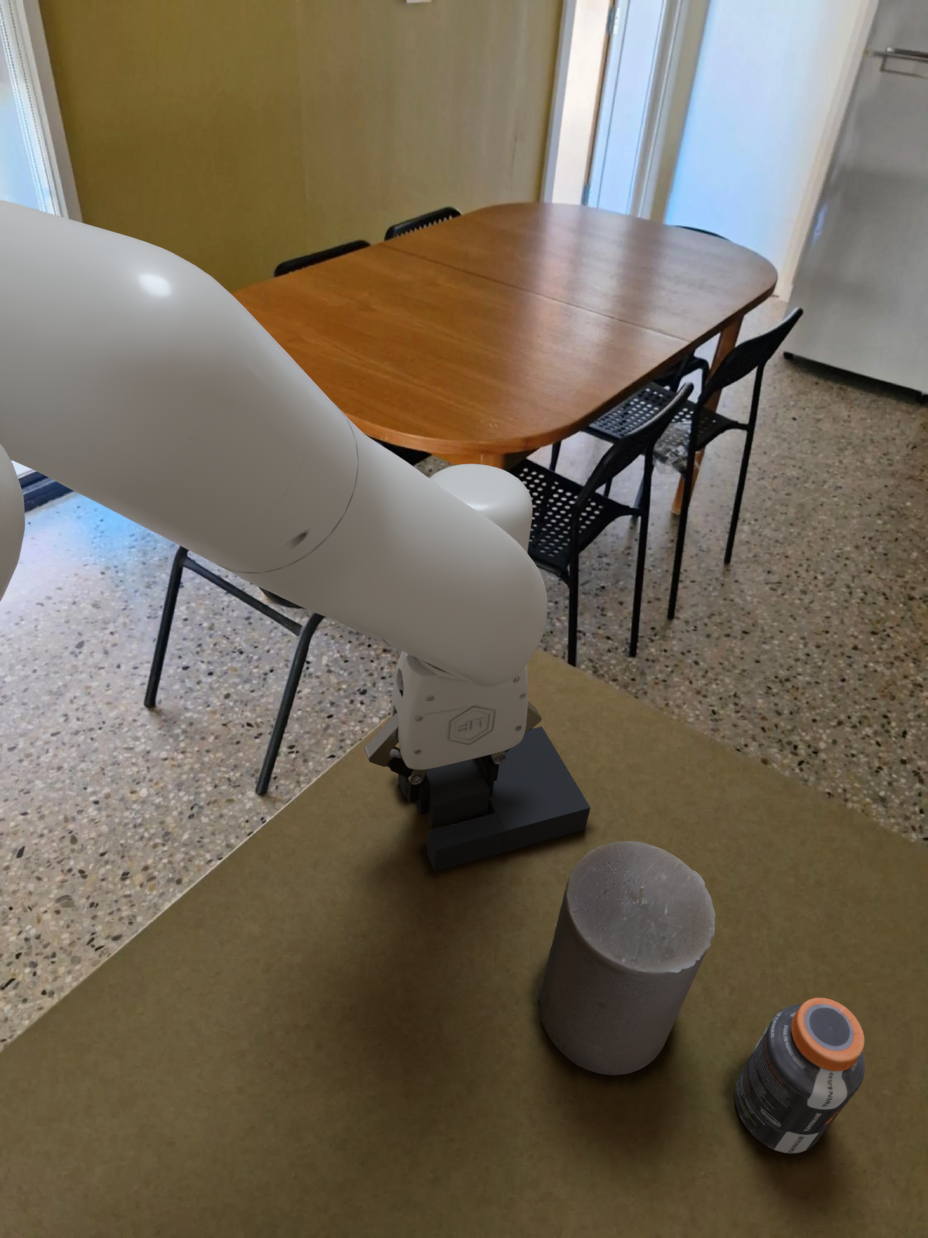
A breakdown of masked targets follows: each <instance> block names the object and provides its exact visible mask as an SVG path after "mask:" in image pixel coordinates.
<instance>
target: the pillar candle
mask: <svg viewBox="0 0 928 1238" xmlns="http://www.w3.org/2000/svg"><path fill="white" fill-rule="evenodd" d="M706 884H707V882H705V881H704V879H703V877H702V876H701V875H700V874H699V873H698V872H697V871H696V870H692V869H691V867H690V866H688V864H686V863H684V861H683V860H682V859H680V858H678V857H677V856H675V855H674V854H672V853H670V852H668V851H667V850H665V849H663V848H661V847H657V846H655V845H652V844H648V843H646V842H642V841H636V840H631V841H630V840H620V841H615V842H610V843H606V844H603V845H600V846H597V847H595V848H594V849H591V850H589V851H587V853H586V854H585V855H583V856H582V858H580V859H579V860H578V862H577V863H575V865H574V867H573V869H572V870H571V872H570V874H569V877H568V879H567V881H566V885H565V889H564V893H563V897H562V901H561V905H560V908H559V914H558V916H557V917H558V918H557V922H556V926H555V930H554V934H553V938H552V941H551V946H550V948H549V949H550V950H549V954H548V959H547V962H546V967H545V969H544V974H543V978H542V981H541V982H540V986H539V990H538V995H537V1000H538V1003H539V1010H540V1022H541V1024H542V1025H543V1028H544V1030H545V1033H546V1034H547V1035H548V1038H549V1039H550V1041H551V1043H552V1044H553V1045H554V1046H555V1047H556V1049H557V1050H558V1051H559V1052H560V1053H561V1054H562V1055H563V1056H564V1057H565V1058H566V1059H568V1060H569V1061H571V1062H572V1063H573V1064H575V1065H576V1066H578V1067H580V1068H582V1069H584V1070H586V1071H589V1072H592V1073H595V1074H598V1075H599V1074H600V1075H606V1076H622V1075H627V1074H632V1073H635V1072H637V1071H639V1070H641V1069H644V1068H645V1067H646V1066H648V1065H650V1064H651V1063H652V1062H653V1061H654V1060H656V1058H657V1057H658V1055H659V1054H660V1053H661V1051H662V1049H663V1048H664V1046H665V1044H666V1042H667V1040H668V1037H669V1035H670V1032H671V1031H672V1029H673V1026H674V1025H675V1023H676V1020H677V1018H678V1016H679V1014H680V1012H681V1010H682V1007H683V1004H684V1003H685V1001H686V998H687V996H688V994H689V992H690V989H691V987H692V984H693V982H694V980H695V978H696V975H697V973H698V971H699V969H700V967H701V965H702V963H703V961H704V958H705V955H706V954H707V952H708V950H709V949H710V947H711V946H712V943H711V942H712V940H713V938H714V937H715V934H716V917H717V914H716V912H715V908H714V905H713V899H712V896H711V895H710V893H709V891H708V889H707V887H706Z"/></svg>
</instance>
